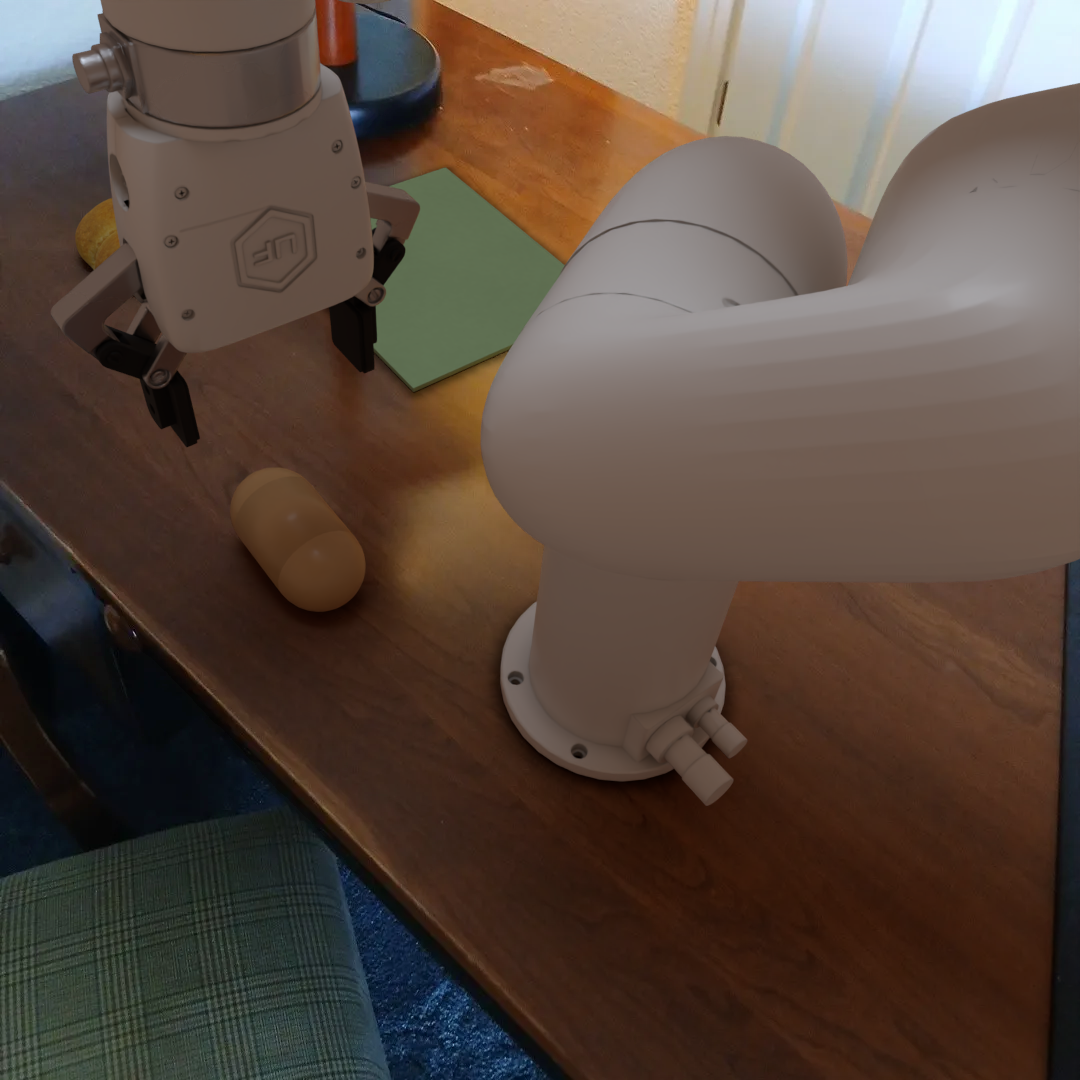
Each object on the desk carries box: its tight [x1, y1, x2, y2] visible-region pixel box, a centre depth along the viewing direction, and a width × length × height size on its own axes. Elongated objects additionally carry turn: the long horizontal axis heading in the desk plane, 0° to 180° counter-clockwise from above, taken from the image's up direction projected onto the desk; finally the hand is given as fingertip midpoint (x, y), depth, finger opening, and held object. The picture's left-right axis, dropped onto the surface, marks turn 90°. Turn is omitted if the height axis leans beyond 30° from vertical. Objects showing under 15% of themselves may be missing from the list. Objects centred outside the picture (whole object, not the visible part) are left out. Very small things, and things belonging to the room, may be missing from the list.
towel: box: [370, 166, 565, 393], centre depth 82 cm, size 22×18×1 cm
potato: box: [229, 466, 367, 613], centre depth 61 cm, size 10×5×5 cm, turn 38°
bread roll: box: [74, 197, 120, 271], centre depth 79 cm, size 8×9×4 cm
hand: (270, 391), depth 53 cm, fingers open, 9 cm apart
